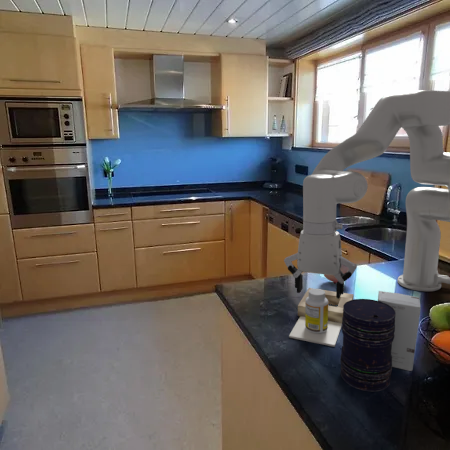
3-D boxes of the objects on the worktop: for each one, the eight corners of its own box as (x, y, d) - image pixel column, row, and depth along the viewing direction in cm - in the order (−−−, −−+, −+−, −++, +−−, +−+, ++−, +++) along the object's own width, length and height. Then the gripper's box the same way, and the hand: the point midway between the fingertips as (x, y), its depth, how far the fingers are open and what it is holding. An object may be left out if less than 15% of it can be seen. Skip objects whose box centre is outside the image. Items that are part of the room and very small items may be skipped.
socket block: (353, 303, 108) (353, 294, 108) (346, 324, 97) (347, 313, 96) (308, 296, 114) (309, 287, 113) (297, 315, 103) (297, 305, 102)
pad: (342, 325, 97) (342, 323, 97) (334, 346, 87) (334, 344, 87) (300, 317, 101) (300, 316, 101) (289, 337, 92) (289, 335, 92)
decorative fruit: (315, 283, 124) (316, 254, 122) (329, 276, 130) (330, 249, 127) (340, 291, 117) (342, 261, 115) (354, 283, 123) (355, 255, 120)
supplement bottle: (322, 322, 97) (323, 286, 95) (331, 333, 92) (332, 295, 90) (302, 324, 97) (302, 288, 94) (309, 335, 91) (309, 297, 89)
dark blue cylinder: (332, 363, 81) (335, 300, 78) (376, 360, 82) (381, 297, 78) (351, 393, 71) (354, 323, 68) (400, 390, 72) (406, 319, 68)
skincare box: (371, 363, 80) (375, 300, 77) (373, 349, 86) (377, 289, 82) (414, 372, 77) (421, 306, 73) (413, 356, 82) (419, 294, 79)
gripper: (359, 225, 88) (357, 292, 92) (288, 221, 95) (289, 283, 99) (355, 233, 81) (353, 305, 85) (279, 228, 88) (280, 294, 93)
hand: (318, 293), depth 92 cm, fingers open, 9 cm apart
